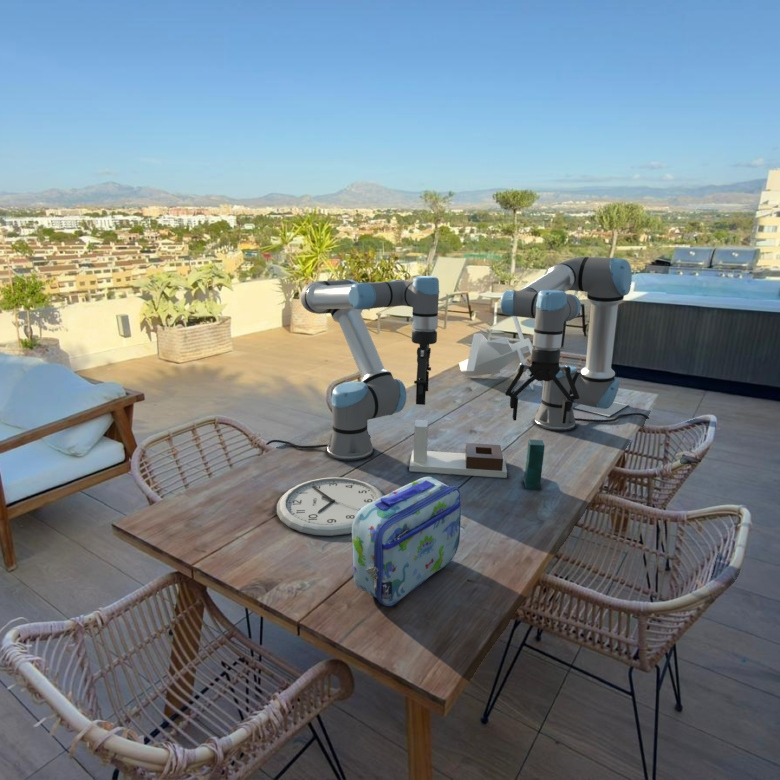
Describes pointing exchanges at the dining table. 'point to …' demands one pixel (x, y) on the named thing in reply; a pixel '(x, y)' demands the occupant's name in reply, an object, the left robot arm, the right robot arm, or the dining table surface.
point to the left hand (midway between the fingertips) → (422, 397)
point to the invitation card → (606, 412)
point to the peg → (534, 464)
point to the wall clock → (325, 505)
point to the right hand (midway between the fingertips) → (538, 420)
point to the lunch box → (405, 538)
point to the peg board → (456, 457)
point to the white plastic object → (495, 354)
